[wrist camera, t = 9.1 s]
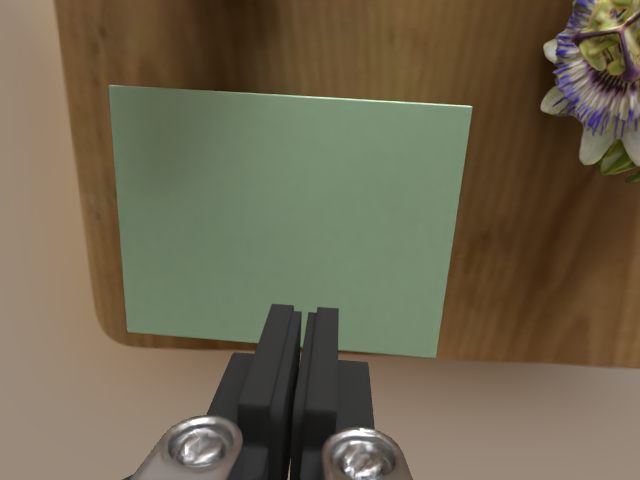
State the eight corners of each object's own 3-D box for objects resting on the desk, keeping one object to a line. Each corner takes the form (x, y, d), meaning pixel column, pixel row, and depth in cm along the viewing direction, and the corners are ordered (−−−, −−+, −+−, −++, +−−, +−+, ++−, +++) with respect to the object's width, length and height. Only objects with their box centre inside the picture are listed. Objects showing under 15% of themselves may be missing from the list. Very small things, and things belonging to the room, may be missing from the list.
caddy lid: (469, 105, 21) (473, 105, 20) (433, 351, 25) (436, 359, 24) (116, 85, 22) (107, 84, 21) (133, 325, 25) (126, 332, 25)
